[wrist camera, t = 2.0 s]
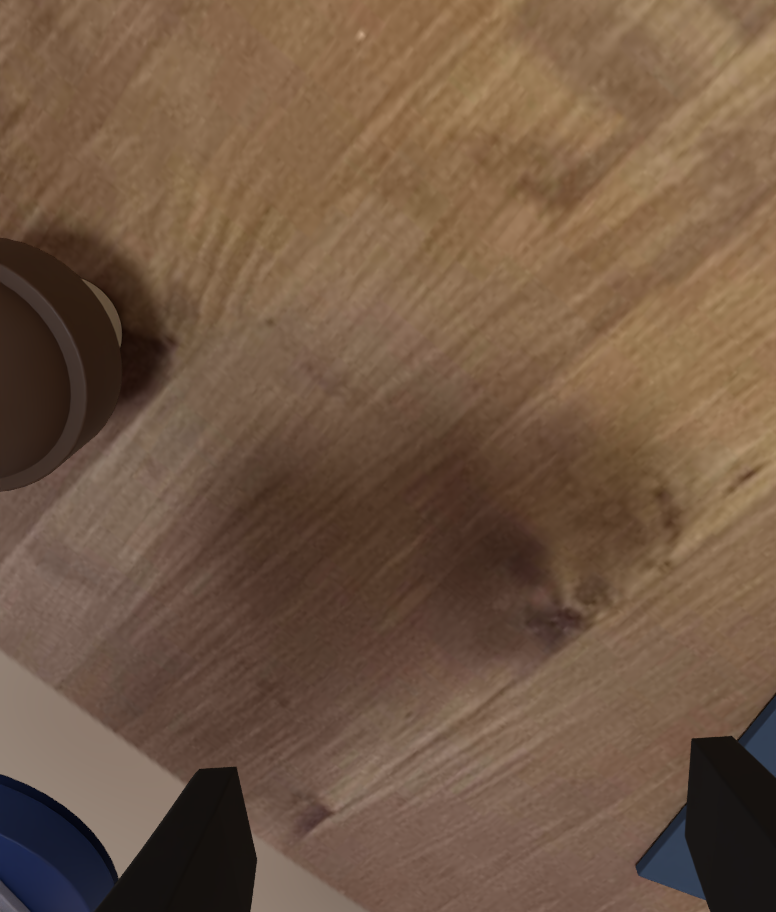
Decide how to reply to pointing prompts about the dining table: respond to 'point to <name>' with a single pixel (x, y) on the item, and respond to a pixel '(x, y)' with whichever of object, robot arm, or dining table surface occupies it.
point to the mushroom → (51, 363)
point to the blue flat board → (669, 858)
